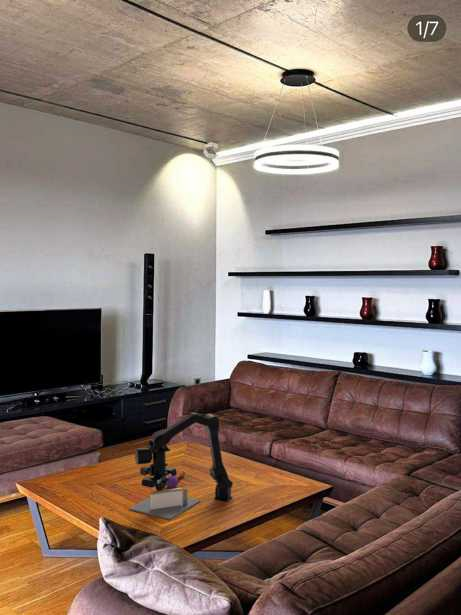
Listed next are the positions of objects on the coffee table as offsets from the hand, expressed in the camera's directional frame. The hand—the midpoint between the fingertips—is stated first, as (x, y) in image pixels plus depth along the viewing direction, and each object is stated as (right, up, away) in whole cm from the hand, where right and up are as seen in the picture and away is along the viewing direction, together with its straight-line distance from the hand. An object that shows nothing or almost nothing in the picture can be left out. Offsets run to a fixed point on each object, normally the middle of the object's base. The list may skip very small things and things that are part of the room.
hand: (159, 495), depth 263 cm
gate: (+3, -4, -2) cm, 6 cm away
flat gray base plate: (+2, -5, +2) cm, 6 cm away
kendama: (+4, -4, +32) cm, 33 cm away
